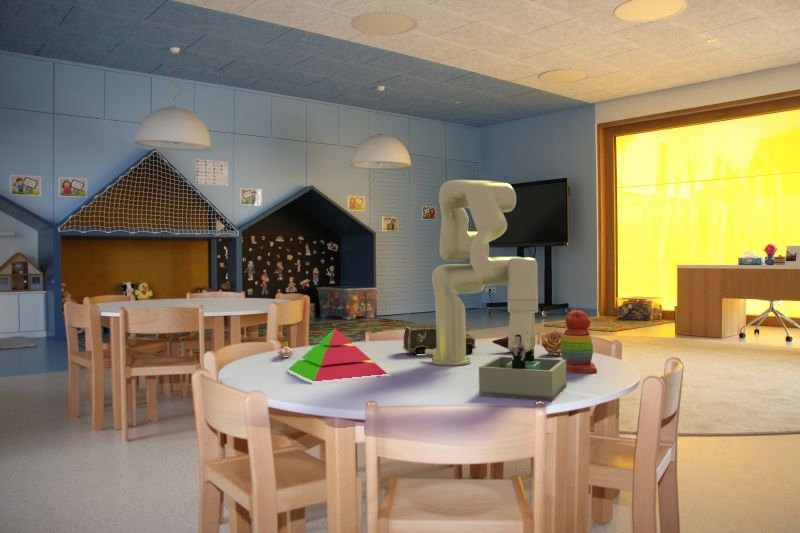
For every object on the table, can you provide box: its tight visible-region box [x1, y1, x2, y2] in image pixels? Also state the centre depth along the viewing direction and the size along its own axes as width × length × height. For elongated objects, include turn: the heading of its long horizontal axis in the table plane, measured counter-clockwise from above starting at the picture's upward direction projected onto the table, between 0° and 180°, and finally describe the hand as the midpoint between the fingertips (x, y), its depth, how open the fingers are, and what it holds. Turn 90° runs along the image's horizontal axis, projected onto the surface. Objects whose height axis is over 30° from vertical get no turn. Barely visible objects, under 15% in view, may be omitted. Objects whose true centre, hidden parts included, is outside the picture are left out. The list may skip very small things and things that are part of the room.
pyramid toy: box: [288, 328, 388, 381], centre depth 193 cm, size 25×25×14 cm
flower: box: [540, 329, 564, 356], centre depth 222 cm, size 10×9×8 cm
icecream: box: [491, 335, 536, 353], centre depth 229 cm, size 7×7×15 cm
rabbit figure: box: [277, 341, 296, 357], centre depth 226 cm, size 6×6×15 cm
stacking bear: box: [560, 309, 598, 374], centre depth 192 cm, size 11×10×18 cm
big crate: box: [478, 355, 567, 402], centre depth 165 cm, size 18×18×7 cm
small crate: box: [506, 361, 540, 370], centre depth 165 cm, size 7×7×6 cm
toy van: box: [402, 323, 477, 355], centre depth 231 cm, size 11×25×10 cm, turn 100°
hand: (523, 373), depth 165 cm, fingers open, 9 cm apart
